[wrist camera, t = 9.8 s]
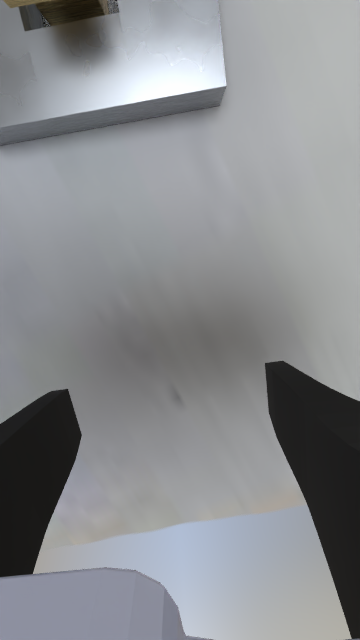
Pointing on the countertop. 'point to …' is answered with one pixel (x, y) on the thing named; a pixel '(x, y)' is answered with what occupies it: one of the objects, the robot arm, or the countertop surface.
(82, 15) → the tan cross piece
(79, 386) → the countertop surface
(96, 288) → the countertop surface
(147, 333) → the countertop surface
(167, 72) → the metal plate with slot
